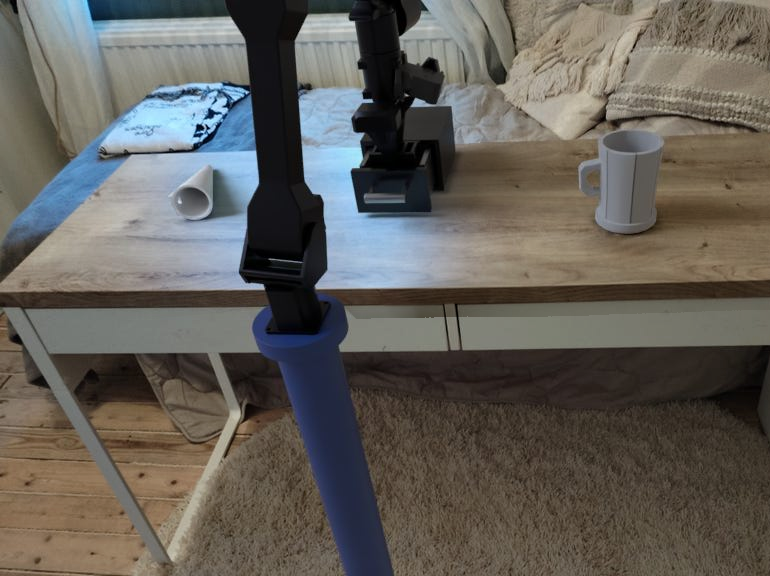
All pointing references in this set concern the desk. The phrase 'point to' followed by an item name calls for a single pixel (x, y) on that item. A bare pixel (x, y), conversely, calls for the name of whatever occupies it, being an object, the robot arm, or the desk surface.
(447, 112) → the black drawer box
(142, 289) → the desk surface
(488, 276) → the desk surface
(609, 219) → the cup
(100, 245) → the desk surface
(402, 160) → the rack
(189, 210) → the long cone
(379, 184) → the open drawer with handle
